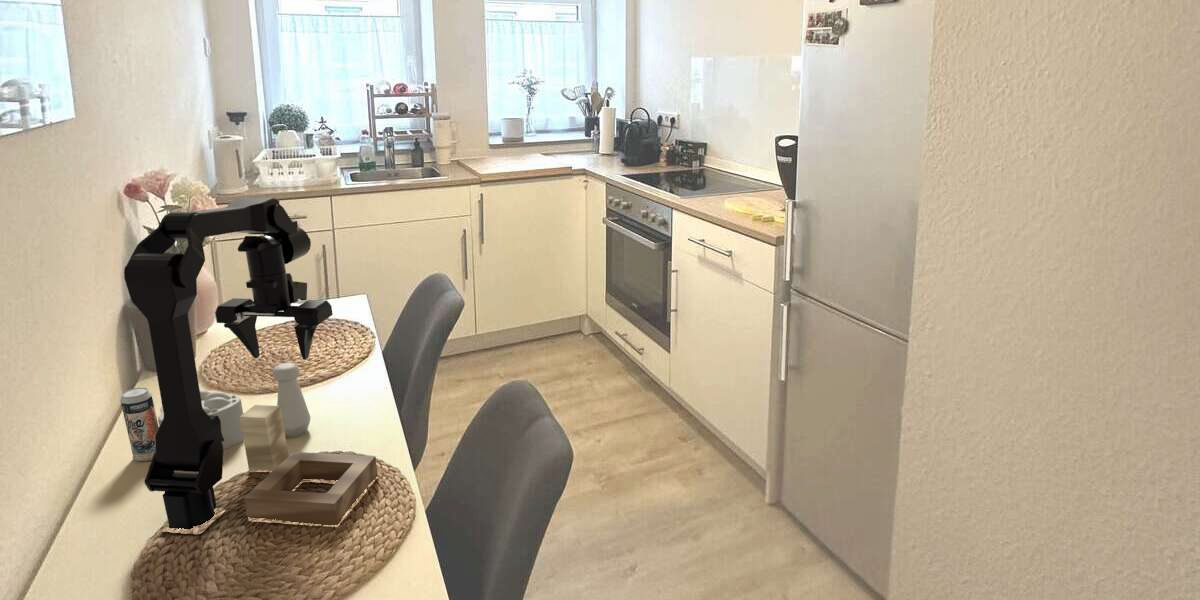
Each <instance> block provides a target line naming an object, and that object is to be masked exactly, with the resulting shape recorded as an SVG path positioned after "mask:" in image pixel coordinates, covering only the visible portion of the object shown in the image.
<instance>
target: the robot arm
mask: <svg viewBox="0 0 1200 600" xmlns="http://www.w3.org/2000/svg"><path fill="white" fill-rule="evenodd" d="M231 233H232V234H233V233H243V234H249V235H245V236H244V237H243V240H242V242H240V243H239V244H238V247H237V251H238V252H241V253H243V252H244V253H245V256H246V263H247V267H248V275H249V280H248V281H246V282H245V285H246V289H251V293H252V299H251V298H237V297H236V298H234V297H233V298H230V299H229V300H227V301H225V302H223V303H221V304H219V305H217V307H216V308H215V312H214V315H215V322H216V324H223V327H224V328H226V329H229V330H230V331H231V332H232V333H233V334H234V335H235V337H237V338H238V340H239V341H240V342H241V343H242V344H243V346H244V347H245V348H246V350H247V351H248V352H249V353H250V354H251V356H252V357H253V358H254V359H258V358H259V357H260V346H259V339H258V336H257V335H258V334H257V330H256V329H257V328H256V323H257V319H258V317H270V318H271V317H272V318H274V317H275V318H278V317H279V318H294V319H293V320H294V322H296V324H297V325H295V326H294V331H295V335H296V340H297V343H298V348H299V352H300V355H301V358H302V360H304V361H306V360H307V359H308V358H309V356H310V352H311V347H312V343H313V338H314V335H315V333H316V329H317V328H318V326H319V325H320V324H322V323H323V322H324V321H326V320H327V319H329V318H330V317H332V316H334V314H333V308H332V305H331V303H330V301H328V300H327V299H325V300H324V299H323V300H322V299H308V297H307V296H308V282H303V281H294V280H293V276H292V275H291V273H290V272H289V273H288V272H287V270H286V265H287V264H289V263H292V262H293V261H296V260H297V259H299V258H302V257H303V256H305V255H307V254H308V253H309V251H310V250H311V245H312V241H311V238H310V236H309V235H308V233H307V232H306V231H305V230H304V229H303V228H301V227H299V223H298V220H292V219H291V217H290V216H289V214H288V212H287V211H286V209H285V208H284V206H282V205H281V204H280V200H279V199H277V198H275V197H271V198H270V197H241V198H237V199H236V200H232V201H231V202H229V203H227V206H224V207H221V208H220V207H219V208H211V209H210V208H209V209H204V210H203V209H202V210H193V211H185V212H184V211H172V212H170V213H167V214H165V215H164V216H163V217H162V219H161V221H160V222H159V224H158V225H157V228H155V229H154V230H153V231H152V232H151V233H149V234H148V235H147V236H146V237H145V238H143V239H142V240H141V241H140V242H139V243H138V244H137V245H136V247H135V249H134V250H133V252H132V254H131V256H130V258H129V260H128V261H127V263H126V265H125V267H124V270H123V274H124V275H123V277H124V278H123V279H124V282H125V285H126V289H127V291H128V294H129V298H130V301H131V302H132V303H133V305H134V306H135V307H136V308H137V309H138V311H140V313H141V314H142V315H143V316H144V317H145V319H146V320H147V324H148V325H147V326H148V330H149V335H150V337H149V338H150V342H151V348H152V354H153V360H154V367H155V371H156V376H157V384H158V388H159V395H160V399H161V401H160V403H161V407H163V414H164V418H163V420H162V422H161V424H160V426H159V425H158V427H159V428H158V430H157V432H156V434H155V449H156V450H155V453H154V456H153V458H152V460H150V461H151V462H150V464H149V466H148V470H147V473H146V474H145V475H146V476H145V477H144V481H143V482H144V484H145V487H146V488H147V490H148V491H149V492H164V493H163V494H162V495H161V496H162V499H163V504H164V509H165V513H166V519H167V523H169V528H178V529H179V528H181V529H182V528H184V529H191V528H193V526H197V525H201V524H203V523H205V522H206V521H208V520H210V519H211V518H212V517H213V516H214V514H215V512H214V509H215V508H217V502H216V500H217V499H216V497H215V496H216V495H215V492H214V491H215V490H214V486H215V485H216V484H217V483H220V481H221V480H222V479H223V466H224V465H223V464H224V450H223V445H222V441H224V438H223V436H222V432H221V421H220V419H219V417H218V416H216V415H207V413H206V412H205V411H204V410H203V408H202V402H201V396H200V390H201V389H200V385H199V378H198V371H197V366H196V358H195V352H194V346H193V339H192V332H191V328H190V319H189V312H190V309H191V307H192V306H193V304H194V301H195V299H196V297H197V294H198V285H197V279H198V277H199V275H200V272H201V270H202V268H203V266H204V264H205V262H206V256H205V251H204V245H203V243H204V241H205V239H206V238H207V237H215V236H220V235H226V234H231ZM257 235H259V236H257ZM176 241H187V248H186V249H185V252H184V254H183V253H170V252H169V253H165V252H167V251H168V250H169V249H170V248H171V247H172V246H174V244H175V243H176ZM307 299H308V300H307ZM299 300H300V301H305V302H303V303H301V304H300V305H292V304H296V303H297V302H299ZM162 528H163V526H161V528H160V529H162Z"/></svg>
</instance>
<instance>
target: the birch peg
mask: <svg viewBox="0 0 1200 600" xmlns="http://www.w3.org/2000/svg"><path fill="white" fill-rule="evenodd" d="M240 422H241V428H242V433H243V439H244V440H243V444H244V445H243V446H244V449H245V454H246V460H247V466H248V471H252V470H268V471H273V470H274V469H276V468H277V467H278V466H279V465H280V464H281V463H282V462H283V461H284V460H285V459H286V458H287V457H288V456H289V452H288V445H287V437H285V432H284V426H283V419H282V413H281V407H280V406H277V405H270V404H269V405H267V404H264V405H263V404H254V405H253V406H252V407H250V408H249V409H248V410H247V411H245V412H243V414H242V415H241V416H240Z"/></svg>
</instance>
